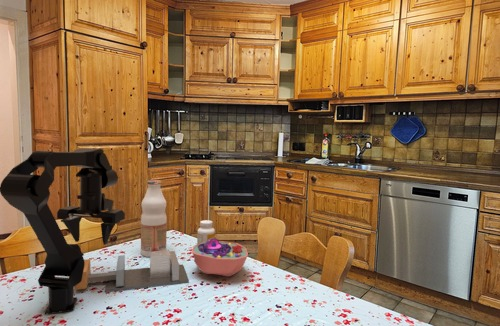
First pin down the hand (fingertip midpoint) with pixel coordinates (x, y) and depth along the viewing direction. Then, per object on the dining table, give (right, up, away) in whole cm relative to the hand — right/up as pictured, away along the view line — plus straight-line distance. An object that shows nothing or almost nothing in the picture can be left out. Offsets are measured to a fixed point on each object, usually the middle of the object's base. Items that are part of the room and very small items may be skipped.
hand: (91, 242), depth 99 cm
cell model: (+37, -13, +12) cm, 41 cm away
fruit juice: (+10, -11, +28) cm, 32 cm away
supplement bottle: (+30, -12, +29) cm, 43 cm away
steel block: (+18, -12, +8) cm, 23 cm away
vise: (+15, -13, +7) cm, 21 cm away
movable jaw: (+2, -12, +2) cm, 12 cm away
